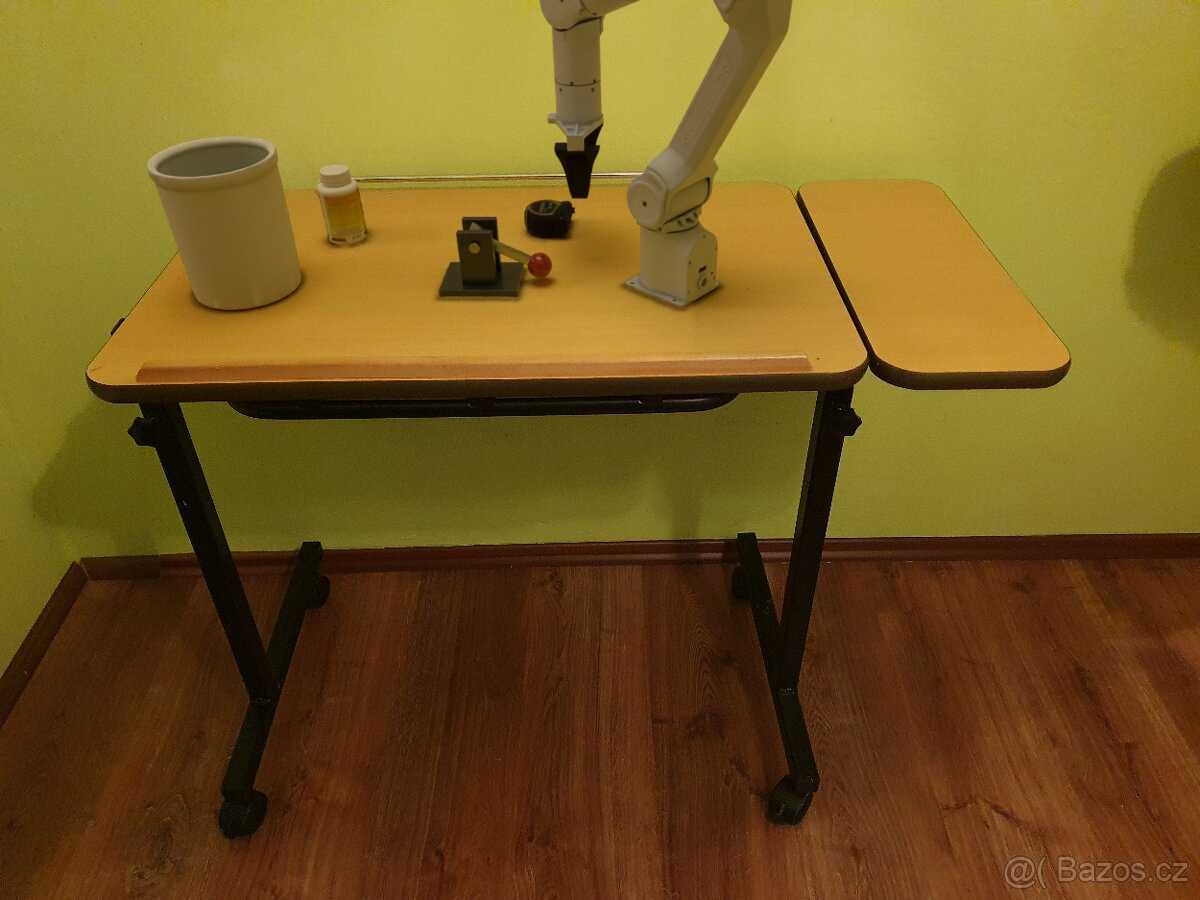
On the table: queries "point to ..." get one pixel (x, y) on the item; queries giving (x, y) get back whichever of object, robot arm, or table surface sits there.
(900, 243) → the table surface
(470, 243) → the switch bracket
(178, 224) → the utensil holder
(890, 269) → the table surface
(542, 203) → the tape measure
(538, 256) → the lever
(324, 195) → the supplement bottle
